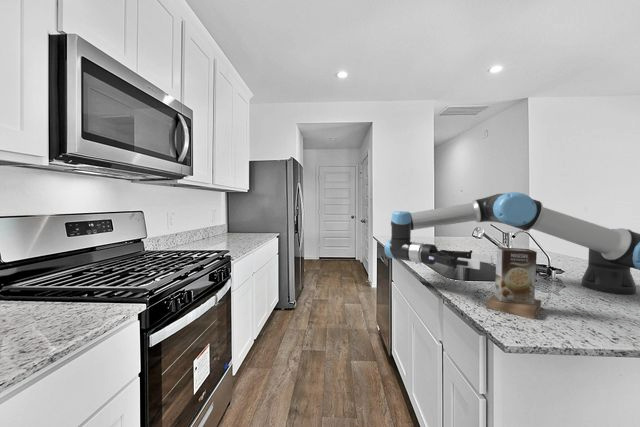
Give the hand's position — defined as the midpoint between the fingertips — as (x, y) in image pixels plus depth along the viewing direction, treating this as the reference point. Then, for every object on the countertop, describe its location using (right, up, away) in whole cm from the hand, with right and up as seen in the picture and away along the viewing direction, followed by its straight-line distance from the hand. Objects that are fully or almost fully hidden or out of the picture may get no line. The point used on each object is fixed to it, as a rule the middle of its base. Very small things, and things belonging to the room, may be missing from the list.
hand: (486, 261), depth 96 cm
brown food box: (+6, -11, -5) cm, 14 cm away
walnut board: (+6, -14, -5) cm, 16 cm away
